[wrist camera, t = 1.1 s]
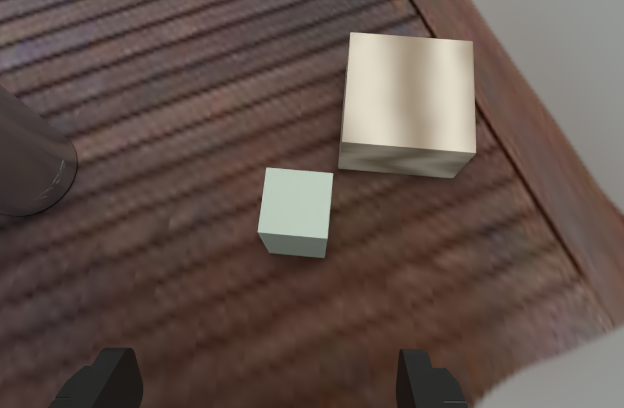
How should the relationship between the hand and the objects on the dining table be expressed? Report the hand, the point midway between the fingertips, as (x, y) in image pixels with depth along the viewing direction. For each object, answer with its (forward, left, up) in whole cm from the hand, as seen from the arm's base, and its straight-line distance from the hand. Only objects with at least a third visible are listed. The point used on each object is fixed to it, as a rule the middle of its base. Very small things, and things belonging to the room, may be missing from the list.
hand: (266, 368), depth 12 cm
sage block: (-4, +9, -23) cm, 25 cm away
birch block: (0, +23, -23) cm, 33 cm away
